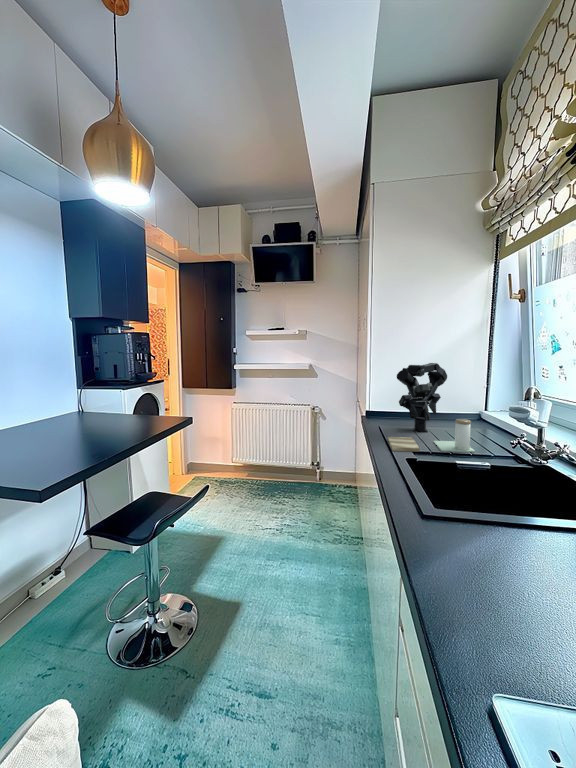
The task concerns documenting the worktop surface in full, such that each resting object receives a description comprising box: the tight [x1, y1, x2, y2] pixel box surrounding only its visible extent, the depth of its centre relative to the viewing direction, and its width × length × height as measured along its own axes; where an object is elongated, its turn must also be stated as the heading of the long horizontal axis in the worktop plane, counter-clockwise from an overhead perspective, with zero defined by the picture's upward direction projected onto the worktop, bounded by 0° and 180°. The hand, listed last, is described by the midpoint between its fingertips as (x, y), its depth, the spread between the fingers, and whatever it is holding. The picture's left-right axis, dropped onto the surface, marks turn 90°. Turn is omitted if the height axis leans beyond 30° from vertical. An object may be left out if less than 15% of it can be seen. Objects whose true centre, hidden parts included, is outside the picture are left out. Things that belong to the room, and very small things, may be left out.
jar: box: [454, 418, 472, 450], centre depth 136 cm, size 6×6×12 cm
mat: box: [432, 440, 476, 453], centre depth 141 cm, size 13×13×1 cm
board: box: [387, 436, 421, 453], centre depth 144 cm, size 16×11×2 cm
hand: (426, 414), depth 148 cm, fingers open, 9 cm apart
